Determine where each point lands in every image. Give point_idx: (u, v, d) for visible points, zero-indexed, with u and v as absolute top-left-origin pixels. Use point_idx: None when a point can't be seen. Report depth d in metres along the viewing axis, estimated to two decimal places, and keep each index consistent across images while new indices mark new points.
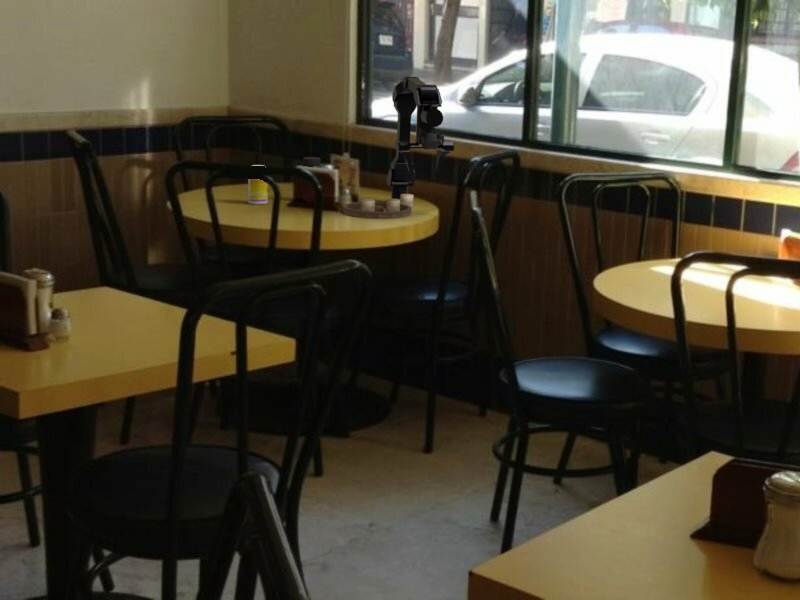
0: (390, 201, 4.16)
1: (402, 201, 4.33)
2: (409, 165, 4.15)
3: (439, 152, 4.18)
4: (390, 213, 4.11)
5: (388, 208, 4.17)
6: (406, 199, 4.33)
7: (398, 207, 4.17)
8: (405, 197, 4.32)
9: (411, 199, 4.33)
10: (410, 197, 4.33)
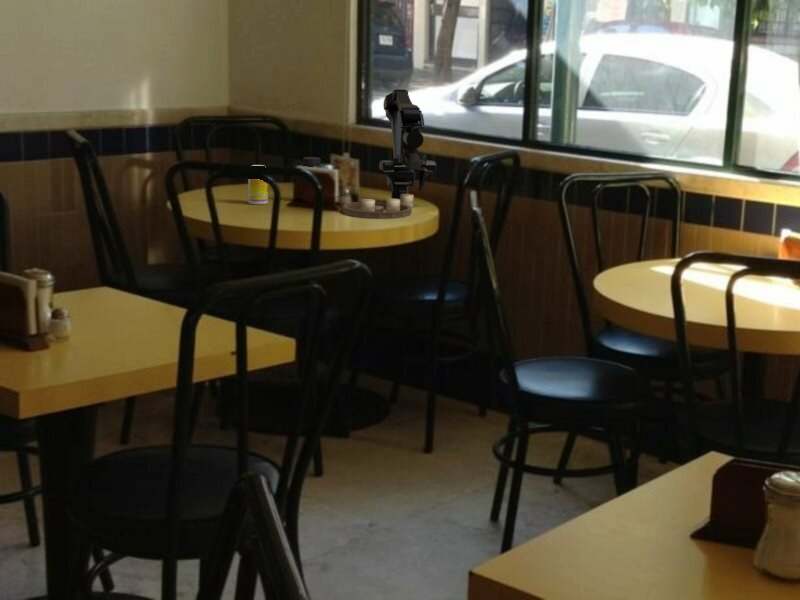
0: (390, 201, 4.16)
1: (402, 201, 4.33)
2: (393, 184, 4.31)
3: (422, 171, 4.34)
4: (390, 213, 4.11)
5: (388, 208, 4.17)
6: (406, 199, 4.33)
7: (398, 207, 4.17)
8: (405, 197, 4.32)
9: (411, 199, 4.33)
10: (410, 197, 4.33)
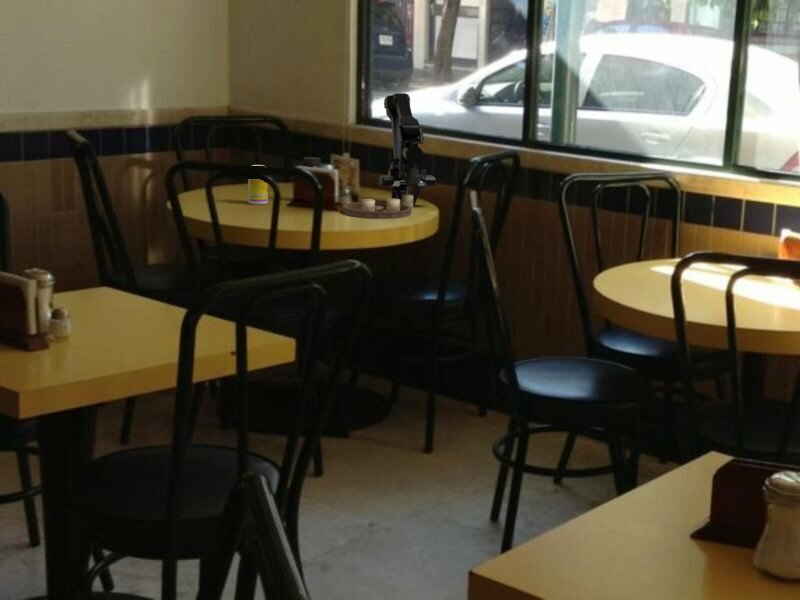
0: (390, 201, 4.16)
1: (402, 201, 4.33)
2: None
3: (415, 186, 4.34)
4: (390, 213, 4.11)
5: (388, 208, 4.17)
6: (406, 199, 4.33)
7: (398, 207, 4.17)
8: (405, 197, 4.32)
9: (411, 199, 4.33)
10: (410, 197, 4.33)
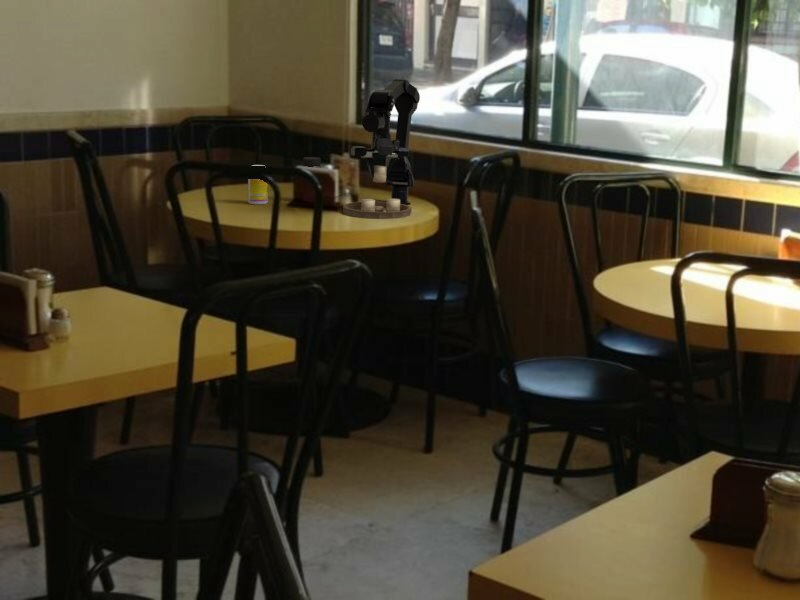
0: (390, 201, 4.16)
1: (375, 173, 4.24)
2: (372, 170, 4.23)
3: (388, 158, 4.25)
4: (390, 213, 4.11)
5: (388, 208, 4.17)
6: (379, 170, 4.23)
7: (398, 207, 4.17)
8: (378, 168, 4.23)
9: (384, 171, 4.23)
10: (383, 168, 4.23)
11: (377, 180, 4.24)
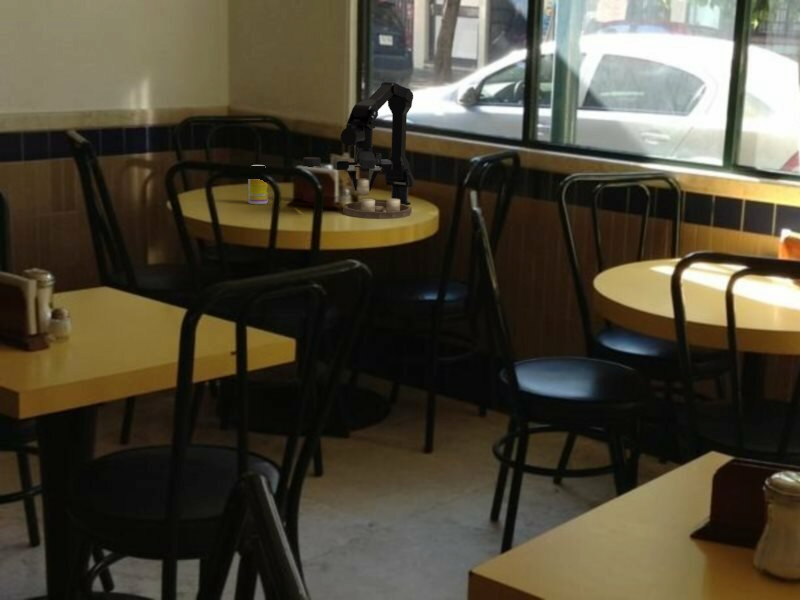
0: (390, 201, 4.16)
1: (358, 186, 4.21)
2: (354, 184, 4.21)
3: (371, 171, 4.22)
4: (390, 213, 4.11)
5: (388, 208, 4.17)
6: (362, 184, 4.20)
7: (398, 207, 4.17)
8: (361, 182, 4.20)
9: (366, 184, 4.21)
10: (366, 182, 4.20)
11: (360, 193, 4.21)
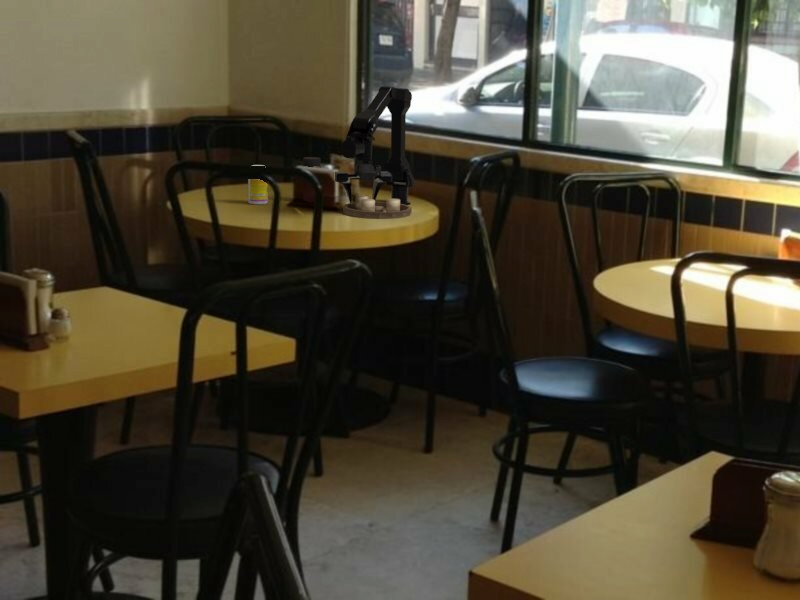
0: (390, 201, 4.16)
1: (357, 202, 4.22)
2: (350, 196, 4.21)
3: (375, 183, 4.23)
4: (390, 213, 4.11)
5: (388, 208, 4.17)
6: None
7: (398, 207, 4.17)
8: (360, 198, 4.21)
9: None
10: (365, 198, 4.22)
11: None
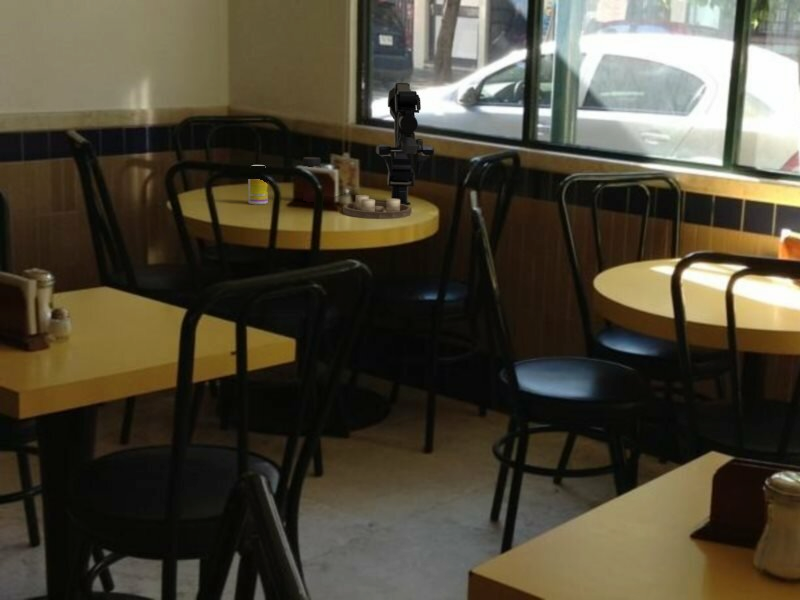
0: (390, 201, 4.16)
1: (357, 202, 4.22)
2: (390, 169, 4.29)
3: (419, 156, 4.31)
4: (390, 213, 4.11)
5: (388, 208, 4.17)
6: None
7: (398, 207, 4.17)
8: (360, 198, 4.21)
9: None
10: (365, 198, 4.22)
11: None
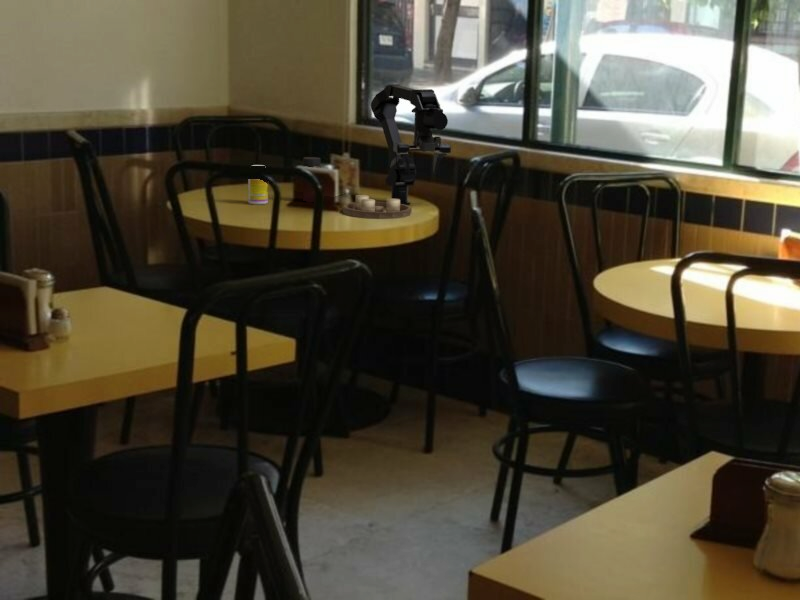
0: (390, 201, 4.16)
1: (357, 202, 4.22)
2: (407, 167, 4.32)
3: (436, 154, 4.35)
4: (390, 213, 4.11)
5: (388, 208, 4.17)
6: None
7: (398, 207, 4.17)
8: (360, 198, 4.21)
9: None
10: (365, 198, 4.22)
11: None
